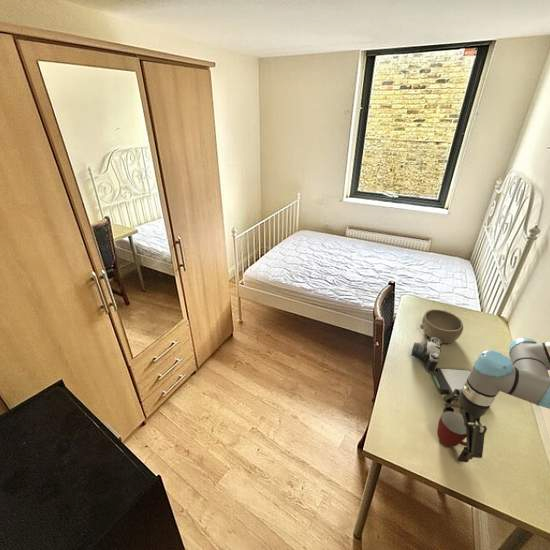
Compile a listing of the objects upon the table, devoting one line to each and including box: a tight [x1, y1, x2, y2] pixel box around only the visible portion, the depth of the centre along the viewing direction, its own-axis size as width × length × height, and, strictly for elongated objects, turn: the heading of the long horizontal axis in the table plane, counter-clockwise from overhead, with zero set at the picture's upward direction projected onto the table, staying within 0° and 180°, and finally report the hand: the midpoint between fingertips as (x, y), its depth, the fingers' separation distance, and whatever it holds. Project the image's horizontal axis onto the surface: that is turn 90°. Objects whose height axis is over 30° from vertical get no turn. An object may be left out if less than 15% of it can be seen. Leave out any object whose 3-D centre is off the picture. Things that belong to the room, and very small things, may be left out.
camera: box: [411, 337, 443, 374], centre depth 127 cm, size 16×10×10 cm, turn 153°
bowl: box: [419, 308, 464, 344], centre depth 141 cm, size 17×18×10 cm
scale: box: [431, 367, 472, 402], centre depth 116 cm, size 14×17×3 cm
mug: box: [436, 411, 467, 448], centre depth 94 cm, size 10×8×10 cm
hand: (452, 439), depth 95 cm, fingers open, 12 cm apart
